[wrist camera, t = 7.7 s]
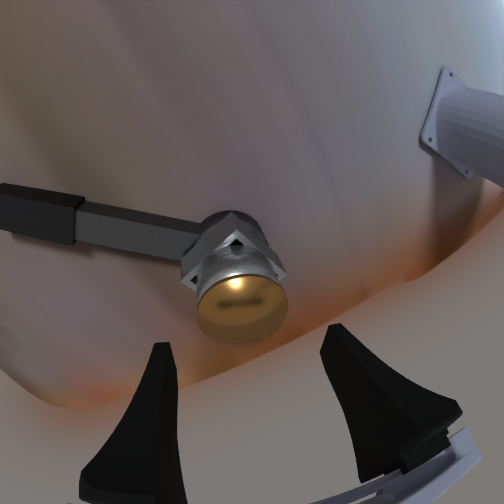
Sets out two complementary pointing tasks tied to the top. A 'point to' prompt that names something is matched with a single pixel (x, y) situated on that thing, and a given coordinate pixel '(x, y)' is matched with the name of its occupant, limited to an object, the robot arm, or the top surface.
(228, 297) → the socket
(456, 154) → the robot arm
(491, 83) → the top surface
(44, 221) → the ratchet
